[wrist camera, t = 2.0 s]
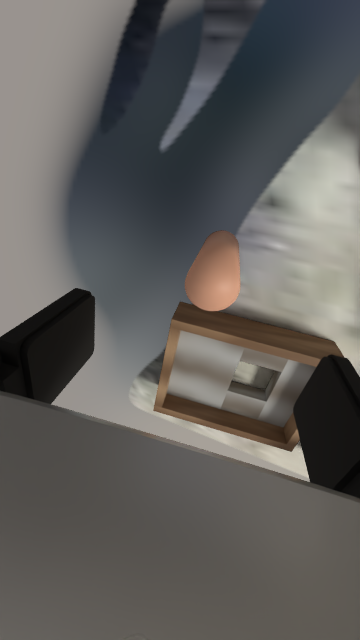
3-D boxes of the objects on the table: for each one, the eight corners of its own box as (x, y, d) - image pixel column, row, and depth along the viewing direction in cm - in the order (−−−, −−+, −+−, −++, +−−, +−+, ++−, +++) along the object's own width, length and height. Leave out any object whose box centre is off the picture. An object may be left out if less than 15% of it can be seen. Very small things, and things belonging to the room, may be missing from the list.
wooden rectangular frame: (180, 301, 30) (171, 319, 26) (334, 341, 28) (350, 367, 24) (162, 386, 37) (153, 410, 33) (285, 422, 35) (291, 451, 31)
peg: (208, 226, 25) (191, 252, 16) (243, 235, 25) (247, 266, 15) (200, 261, 27) (180, 303, 18) (232, 269, 27) (231, 316, 17)
